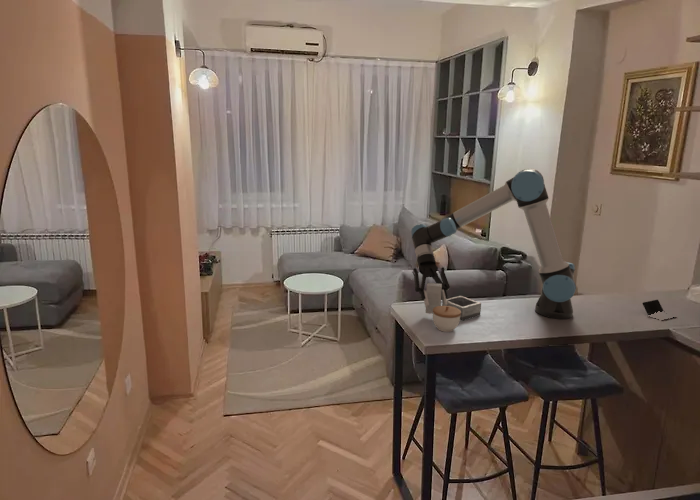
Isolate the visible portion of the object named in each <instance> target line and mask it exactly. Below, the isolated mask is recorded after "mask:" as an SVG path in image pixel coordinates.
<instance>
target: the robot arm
mask: <svg viewBox="0 0 700 500" xmlns="http://www.w3.org/2000/svg"><path fill="white" fill-rule="evenodd" d="M549 199H550V198H549V195H548V191H547V188H546V186H545V179H544V176H543V175H542V173H541V172H540V171H538V170H537V169H534V168H525V169H522V170H520V171H518V172H517V173H516V174H515V175H514V176H513V177H511V178H509V179H508V180H507V181H505V183H504V185H502V186H500V187H499V188H496V189H494V190H493V191H490V192H489V193H487V194H486V195H484V196H482V197H480V198H478V199H476V200H474V201H473V202H470V203H468V204H467V205H464V206H462V207H461V208H459V209H458V210H456V211H454V212H452V213H450V214H448V215H445V216H444V217H442V218H441V219H440V220H438V221H436V222H435V223H432V224H431V225H428V226H427V225H426V224H423V223H420V224H415V225H414V226H413V227H412V228H411V231H410V232H411V239H412V243H413V247H414V252H415V256H416V257H415V258H416V262H417V266H418V268H413V270H412V275H413V279H414V291H415V292H416V293H417V292H418V294H420V298H421V300H423V302H424V307H425V309H426V308H427V307H428V306H429V302H428V297H427V292H426V290H427V289H426V290H425V286H426V281H427V278H432V279H433V280H434V281H435V282H434V283H437V284H442V292H441V303H442V302H443V306H446V305H447V301H446V299H448V293H447V291H449V289H450V287H451V286H450V283H449V281H448V278H447V276H446V273H445V267H443V266H442V267H438V266H437V262H436V259H435V255H434V254H435V253H434V249H433V245H432V244H433V243H436V242H438V241H441V240H442V239H445V238H447V237H451V236H453V235H454V234H456V233H457V232H458V230H459V229H460V228H462V227H465V226H466V225H469V224H470V223H472V222H474V221H477V220H479V218H482V217H484V216H487V214H489V213H492V212H493V211H496V210H498V209H499V208H501V207H503V206H505V205H508V204H509V203H511V202H516V204H517V207H518V208H519V209H521V210H522V211H523V213H524V216H525V218H526V222H527V226H528V228H529V231H530V236H531V238H532V242H533V245H534V248H535V251H536V254H537V258H538V261H539V264H540V268H539V269H538V275H539V277H540V281H541V284H542V287H541V294H540V296H539V297H538V300H537V301H536V304H535V307H534V308H535V309H534V311H535V312H536V313H537V314H539V315H541V316H544V317H547V318H550V319H551V318H552V319H559V320H563V319H570V318H572V317H573V316H574V315H573V313H574V308H573V303H572V298H573V297H574V295H575V293H576V290H577V286H576V282H575V277H574V275H575V274H574V273H575V270H576V269H575V266H576V265H575V264H574V263H572V262H568V261H566V260H564V258H563V255H562V251H561V248H560V246H559V242H558V239H557V235H556V232H555V229H554V226H553V222H552V219H551V216H550V213H549V209H548V206H547V202H548V201H549ZM419 273H420V274H421V275H422V276H421V282H420V279H419ZM438 273H439V274H438ZM439 276H440V277H439ZM420 283H421V284H420Z"/></svg>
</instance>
